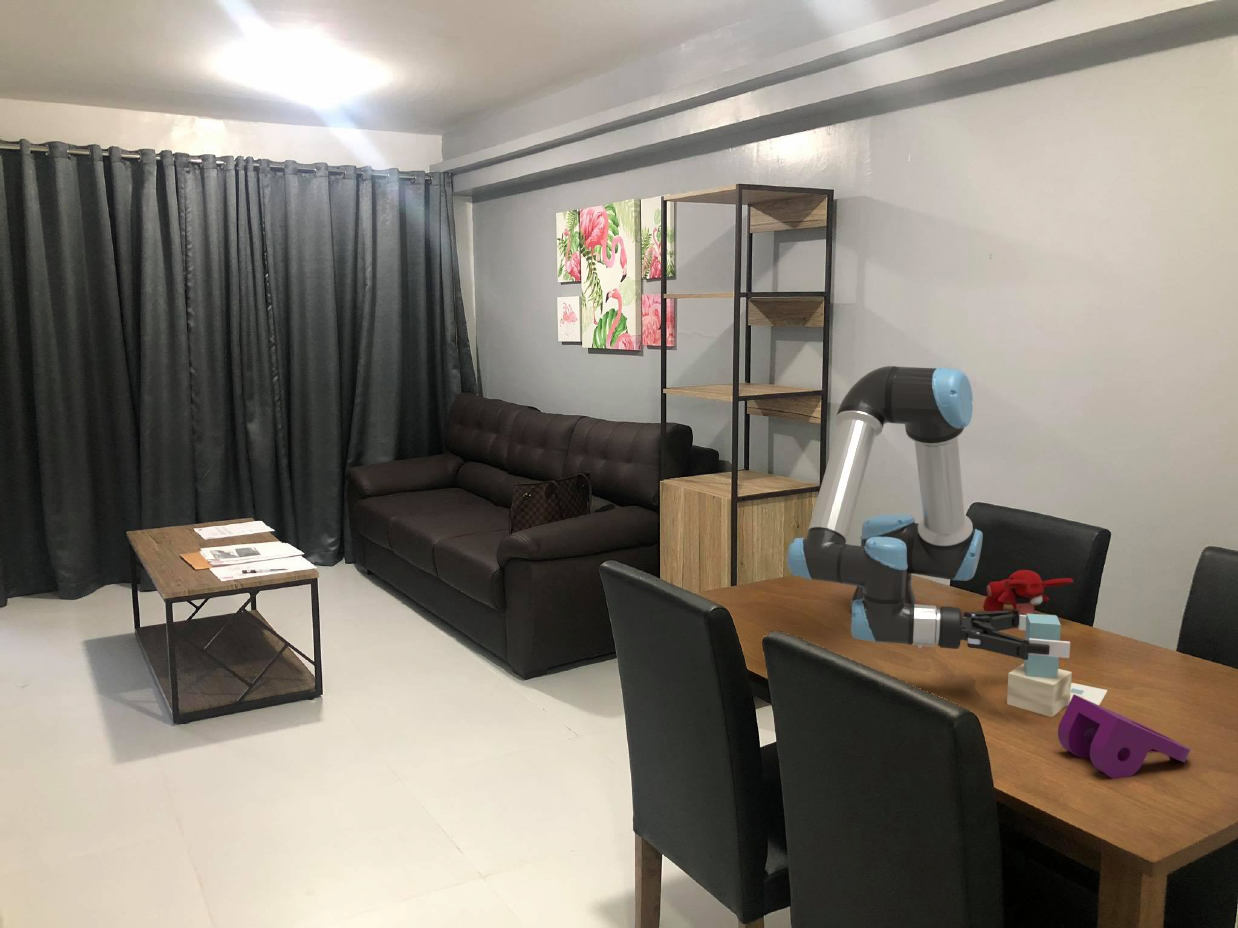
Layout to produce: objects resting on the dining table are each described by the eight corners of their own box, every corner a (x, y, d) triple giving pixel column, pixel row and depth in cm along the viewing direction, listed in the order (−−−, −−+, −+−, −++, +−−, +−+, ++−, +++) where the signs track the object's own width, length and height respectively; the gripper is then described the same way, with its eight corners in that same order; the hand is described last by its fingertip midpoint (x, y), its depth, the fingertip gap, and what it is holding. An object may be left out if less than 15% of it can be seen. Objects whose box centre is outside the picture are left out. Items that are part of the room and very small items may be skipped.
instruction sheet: (1056, 680, 188) (1056, 678, 188) (1107, 691, 183) (1107, 689, 183) (1041, 700, 178) (1041, 698, 178) (1095, 712, 173) (1095, 710, 173)
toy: (976, 634, 227) (1017, 619, 212) (965, 582, 231) (1005, 564, 216) (1038, 631, 230) (1083, 617, 215) (1027, 580, 235) (1070, 562, 220)
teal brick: (1023, 665, 179) (1026, 613, 177) (1053, 667, 177) (1056, 615, 176) (1027, 676, 174) (1030, 622, 172) (1057, 678, 173) (1060, 624, 171)
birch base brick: (1025, 691, 182) (1027, 660, 181) (1069, 703, 177) (1071, 671, 175) (1006, 704, 177) (1008, 673, 176) (1051, 717, 171) (1053, 685, 170)
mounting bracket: (1133, 777, 162) (1049, 742, 157) (1156, 730, 162) (1073, 693, 157) (1180, 806, 153) (1092, 769, 148) (1204, 756, 153) (1118, 718, 147)
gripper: (934, 625, 192) (1050, 635, 186) (939, 669, 168) (1073, 682, 162) (936, 588, 191) (1053, 597, 185) (941, 627, 167) (1077, 639, 161)
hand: (1063, 637), depth 174 cm, fingers open, 13 cm apart
